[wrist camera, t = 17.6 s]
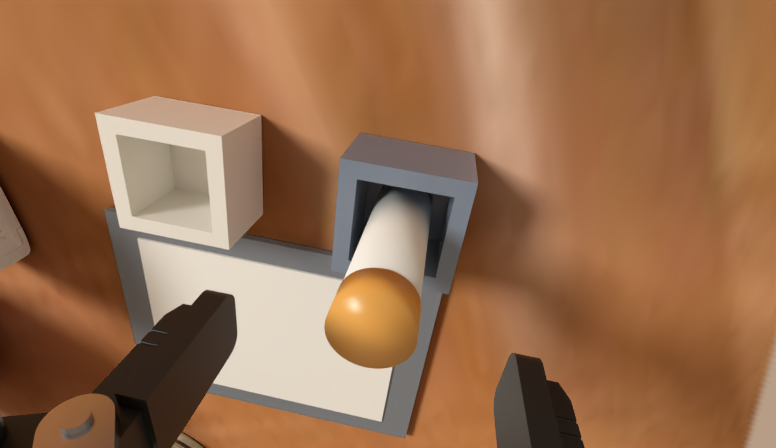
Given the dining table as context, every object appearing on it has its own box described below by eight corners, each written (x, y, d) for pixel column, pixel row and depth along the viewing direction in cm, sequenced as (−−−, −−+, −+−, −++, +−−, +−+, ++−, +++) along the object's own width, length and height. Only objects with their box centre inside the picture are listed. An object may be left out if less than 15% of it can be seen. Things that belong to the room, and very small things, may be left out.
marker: (381, 169, 20) (325, 288, 12) (437, 178, 20) (424, 306, 11) (376, 219, 22) (322, 359, 13) (428, 228, 22) (410, 376, 13)
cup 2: (360, 132, 20) (340, 158, 17) (474, 153, 20) (478, 183, 16) (350, 231, 23) (330, 270, 20) (450, 250, 23) (448, 294, 19)
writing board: (110, 206, 25) (102, 211, 24) (446, 274, 23) (445, 280, 23) (147, 373, 32) (142, 379, 32) (405, 432, 31) (404, 440, 30)
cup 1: (155, 95, 21) (94, 112, 18) (261, 114, 21) (221, 136, 17) (169, 195, 24) (119, 227, 20) (263, 214, 23) (229, 249, 20)
